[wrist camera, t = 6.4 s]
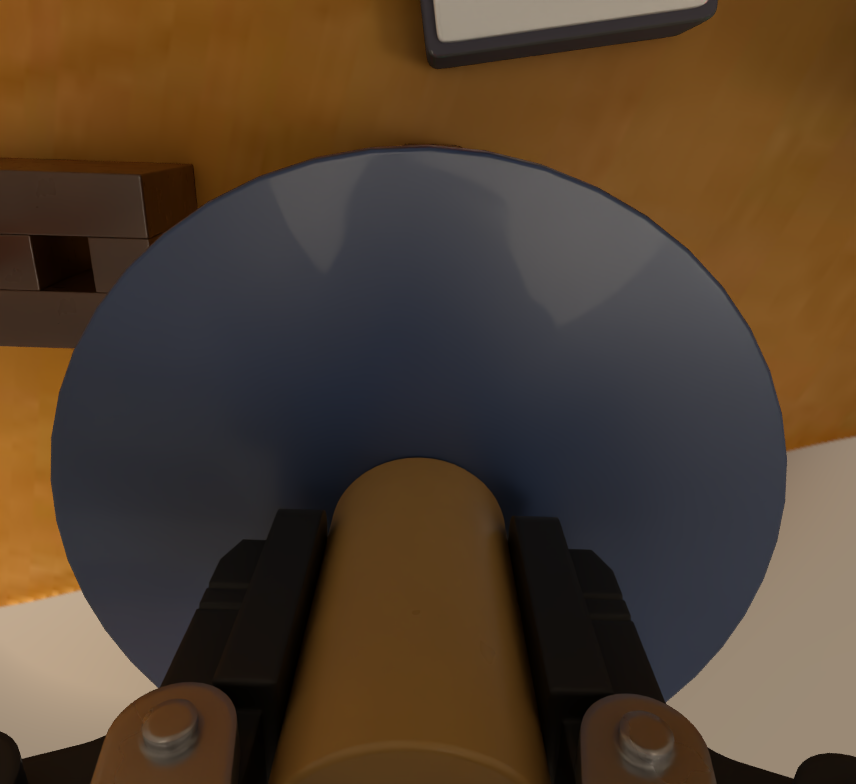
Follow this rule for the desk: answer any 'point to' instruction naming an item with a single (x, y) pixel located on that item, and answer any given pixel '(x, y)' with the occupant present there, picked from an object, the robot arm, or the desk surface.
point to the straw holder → (77, 238)
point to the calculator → (547, 26)
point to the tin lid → (419, 442)
